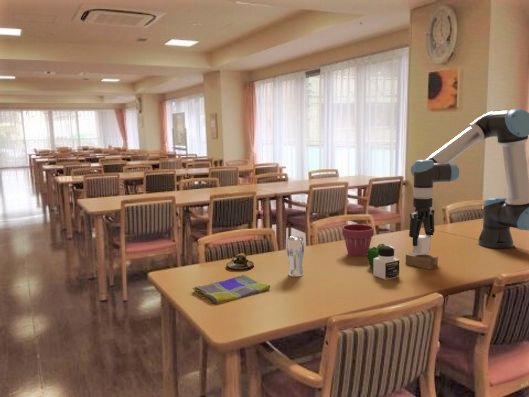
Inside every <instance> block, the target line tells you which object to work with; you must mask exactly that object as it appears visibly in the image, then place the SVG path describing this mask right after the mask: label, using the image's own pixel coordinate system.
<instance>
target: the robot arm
mask: <svg viewBox="0 0 529 397" xmlns="http://www.w3.org/2000/svg"><path fill="white" fill-rule="evenodd" d="M492 137H497V138H496V139H497V143H498V145H501V146H502V154H503V163H504V171H505V180H506V188H507V196H506V197H489V198H486V199H484V202H483V207H482V208H483V210H482V212H483V213H482V214H483V215H482V216H483V218H482V228H481V232H480V234H479V237H478V242H477V243H478V245H479V246H482V247H485V248H489V249H490V248H491V249H510V248H513V247H514V239H513V236H512V233H511V228H512V229H516V230H517V229H518V230H519V231H526V232H527V231H529V173H528V172H529V171H528V163H527V162H528V161H527V154H526V152H527V151H526V145H525V143H526V142H527V141H528V140H529V112H528V111H527V110H525V109H522V108H510V109H509V108H508V109H499V110H498V109H497V110H496V109H495V110H490V111H488V112H485V113H484V114H482V115H480V116H478V117H477V118H475V119H474V120H473V121H471V122H470V123H469V124H467V126H466V128H465V129H464V130H463V131H461V132H460V133H459V134H457V135H456V136H455V137H452V139H450V140H449V141H448V142H446V143H445V144H444V145H442V146H441V147H440V148H439V149H437V150H436V151H435V152H433V153H432V154H430V155H429V156H428V157H426V158H425V159H417V160H415V161H414V163H413V164H412V165H411V166H410V173H411V175H412V176H413V199H412V200H413V201H412V206H413V207H414V208H415V209H414V212H411V213H410V214H409V217H410V220H409V232H408V236H409V238H412V252H413V253H416V254H419V251H420V238H418V237H419V234H420V232H421V229H422V224H423V228H424V235H429V236H434V233H435V209H431V208H433V196H434V183H443V182H444V183H449V182H454V181H456V180H457V179H458V178H459V177H460V168H459V166H458V165H457V164H456V163H453V160H455V159H456V158H457V157H459V156H460V155H461V154H463V153H464V152H466V151H467V150H468V149H469V148H471V147H472V146H473V145H474V146H475V144H477V143H481V142H482V141H483V142H484V140H486V139H488V138H492ZM450 162H452V163H450ZM431 238H432V237H430V242H431V240H432V239H431ZM430 251H431V244H430V245H429V252H430Z"/></svg>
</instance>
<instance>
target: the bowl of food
mask: <svg viewBox="0 0 529 397" xmlns="http://www.w3.org/2000/svg"><path fill="white" fill-rule="evenodd" d="M243 250H244V249H242V251H241V253H238V254H236V255H235V256H236V257H235V258H232V259H231V260H230V261H229V262H227V263H226V267H228V268H230V269H232V270H233V269H234V270H245V269H250V270H252V269H253V268H254V267H255V265H254V264H255V263H254V262H253V261H252V260H249V259H247V255H246V254H245V253H243V252H244V251H243Z"/></svg>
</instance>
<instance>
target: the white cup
mask: <svg viewBox="0 0 529 397" xmlns="http://www.w3.org/2000/svg"><path fill="white" fill-rule="evenodd" d="M431 236H432V235H431ZM431 236H429V235H426V234H420V233H419V237H418V238H420V251H419V254H428V255H429V252H430V251H429V245H430V246H431V241H430V237H431ZM431 238H432V237H431Z"/></svg>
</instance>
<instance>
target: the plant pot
mask: <svg viewBox="0 0 529 397" xmlns="http://www.w3.org/2000/svg"><path fill="white" fill-rule="evenodd" d="M374 232H375V230H374V227H373V226H371V225H367V224H361V223H360V224H358V223H356V224H354V223H353V224H347V225H343V226H342V231H341V233H342V234H341V236H343V239H344V242H345V247H346V252H347V254H348V256H350V257H356V258H358V257H359V258H360V257H361V258H362V257H365V256H368V249H369V248H371V247H370V246H371V242H372V237H374Z"/></svg>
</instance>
